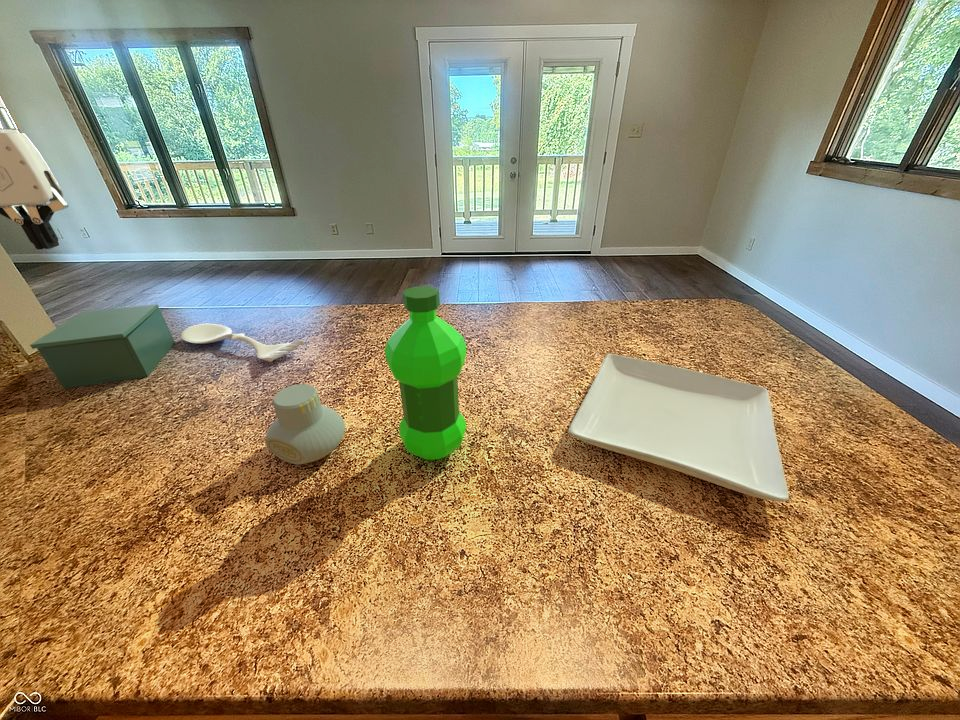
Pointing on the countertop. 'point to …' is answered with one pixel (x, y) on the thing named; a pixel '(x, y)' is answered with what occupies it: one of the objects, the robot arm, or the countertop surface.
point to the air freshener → (303, 426)
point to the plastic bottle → (427, 376)
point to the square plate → (685, 424)
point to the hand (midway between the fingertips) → (48, 247)
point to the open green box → (111, 355)
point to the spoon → (220, 332)
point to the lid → (96, 326)
